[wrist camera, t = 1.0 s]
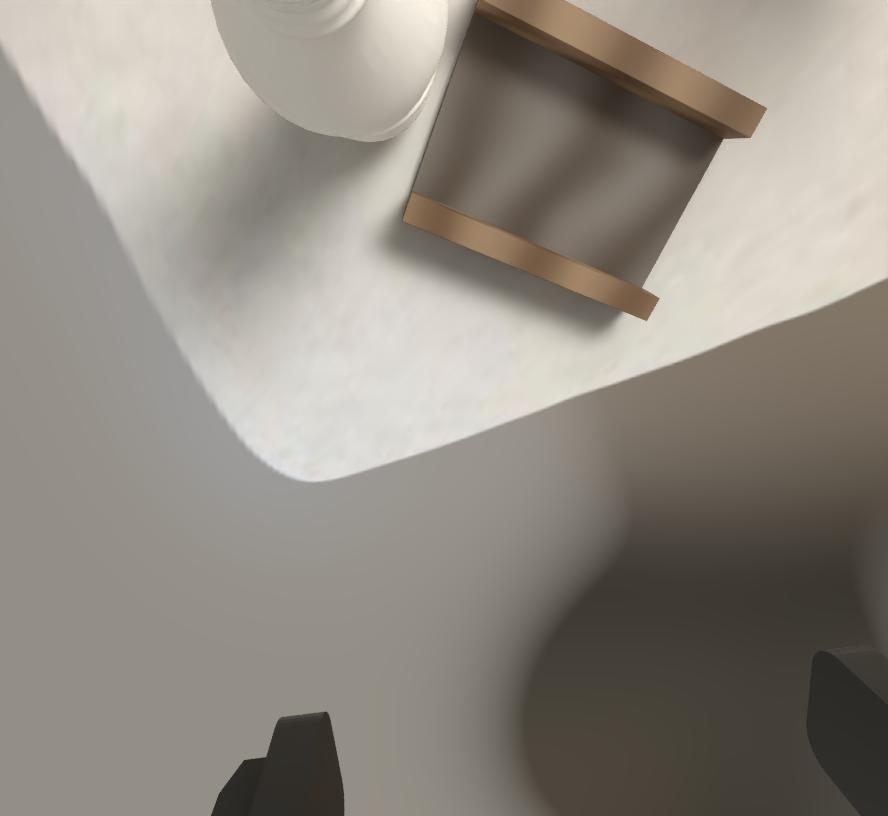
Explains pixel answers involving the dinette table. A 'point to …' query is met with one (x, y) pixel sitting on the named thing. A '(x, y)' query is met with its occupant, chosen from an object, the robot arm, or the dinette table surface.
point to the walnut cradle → (570, 148)
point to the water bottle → (337, 60)
